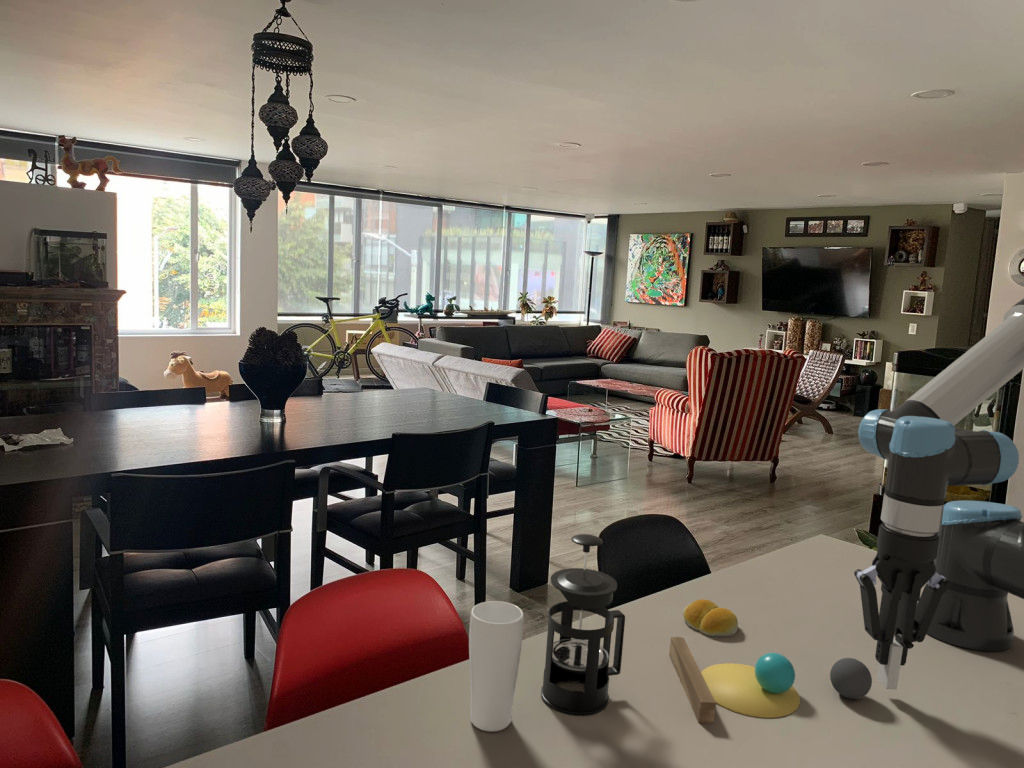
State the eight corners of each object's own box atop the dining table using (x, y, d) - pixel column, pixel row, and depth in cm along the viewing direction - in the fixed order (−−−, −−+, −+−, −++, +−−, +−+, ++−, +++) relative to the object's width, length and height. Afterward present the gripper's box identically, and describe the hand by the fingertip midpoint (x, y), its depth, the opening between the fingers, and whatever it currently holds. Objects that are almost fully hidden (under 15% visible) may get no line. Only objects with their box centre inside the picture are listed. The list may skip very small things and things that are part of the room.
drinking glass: (488, 700, 103) (494, 595, 101) (527, 721, 99) (535, 612, 97) (453, 721, 98) (459, 611, 96) (493, 744, 94) (500, 629, 92)
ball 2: (831, 646, 112) (817, 679, 113) (850, 667, 106) (835, 702, 107) (865, 655, 112) (851, 688, 113) (885, 676, 107) (870, 710, 108)
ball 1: (780, 640, 112) (745, 652, 112) (795, 659, 107) (757, 672, 107) (791, 673, 113) (755, 685, 113) (805, 694, 107) (768, 706, 108)
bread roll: (719, 644, 124) (722, 620, 124) (675, 622, 131) (677, 600, 130) (748, 630, 130) (750, 608, 129) (703, 610, 136) (705, 589, 136)
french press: (552, 721, 99) (564, 552, 96) (526, 683, 108) (537, 527, 105) (632, 709, 103) (646, 546, 100) (601, 673, 112) (613, 523, 109)
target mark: (778, 666, 117) (779, 665, 117) (815, 720, 103) (815, 718, 103) (688, 662, 117) (688, 661, 117) (713, 715, 103) (713, 713, 103)
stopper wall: (681, 655, 119) (683, 637, 119) (713, 723, 101) (715, 702, 101) (669, 654, 119) (670, 636, 118) (698, 722, 101) (700, 701, 101)
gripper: (940, 521, 111) (917, 673, 114) (851, 516, 110) (831, 668, 114) (971, 539, 103) (946, 701, 107) (876, 534, 103) (854, 696, 107)
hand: (886, 684), depth 110 cm, fingers closed
